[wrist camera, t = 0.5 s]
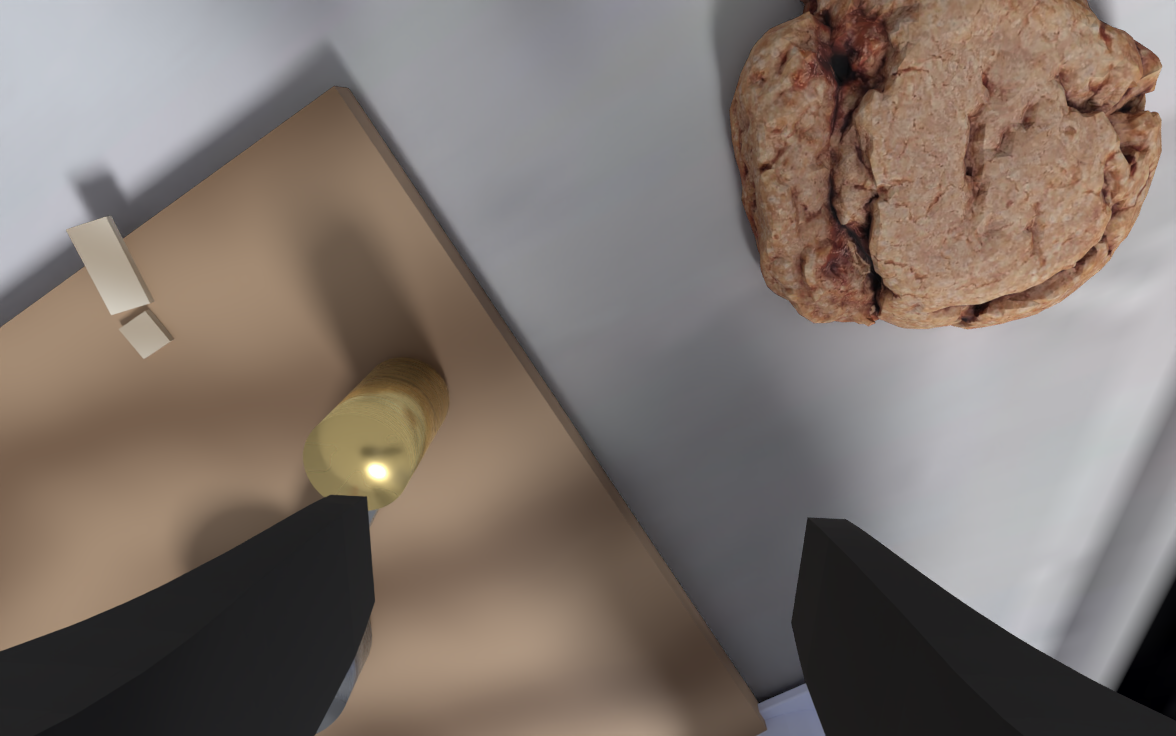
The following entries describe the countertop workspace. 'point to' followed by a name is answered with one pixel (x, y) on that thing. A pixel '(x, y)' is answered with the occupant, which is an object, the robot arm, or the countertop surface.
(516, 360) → the brown cutting board
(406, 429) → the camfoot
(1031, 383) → the countertop surface
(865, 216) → the cookie
